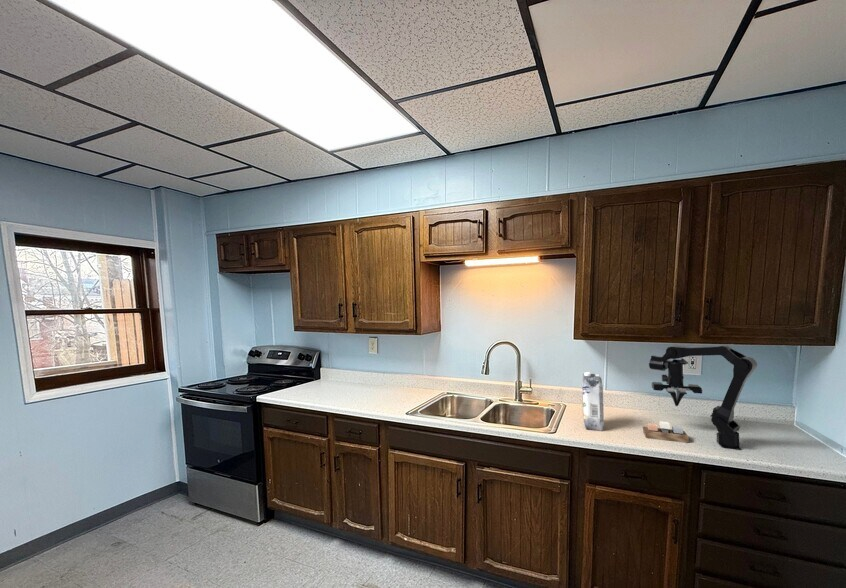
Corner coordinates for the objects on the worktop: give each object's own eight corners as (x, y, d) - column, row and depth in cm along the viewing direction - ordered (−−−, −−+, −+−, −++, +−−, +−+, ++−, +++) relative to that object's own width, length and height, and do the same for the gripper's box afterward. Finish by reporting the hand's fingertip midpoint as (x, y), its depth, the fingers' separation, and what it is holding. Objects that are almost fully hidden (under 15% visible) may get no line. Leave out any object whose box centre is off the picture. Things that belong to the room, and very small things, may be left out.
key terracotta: (656, 434, 163) (655, 424, 163) (657, 437, 160) (657, 426, 160) (647, 433, 165) (647, 423, 165) (649, 436, 162) (648, 425, 162)
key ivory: (668, 432, 161) (668, 422, 161) (670, 435, 158) (670, 424, 158) (659, 431, 163) (659, 421, 163) (661, 434, 160) (661, 423, 160)
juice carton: (602, 424, 178) (600, 371, 178) (604, 432, 168) (602, 375, 168) (582, 422, 181) (581, 370, 181) (584, 430, 171) (582, 374, 172)
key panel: (684, 436, 161) (684, 430, 161) (688, 442, 154) (688, 436, 154) (643, 432, 167) (643, 426, 167) (645, 437, 160) (645, 431, 161)
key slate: (681, 437, 159) (680, 426, 160) (683, 440, 156) (683, 429, 156) (672, 436, 161) (671, 425, 161) (674, 439, 158) (673, 428, 158)
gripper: (694, 370, 170) (695, 402, 169) (649, 368, 177) (649, 399, 177) (702, 375, 159) (703, 410, 159) (653, 372, 167) (654, 405, 167)
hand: (676, 405), depth 166 cm, fingers closed
